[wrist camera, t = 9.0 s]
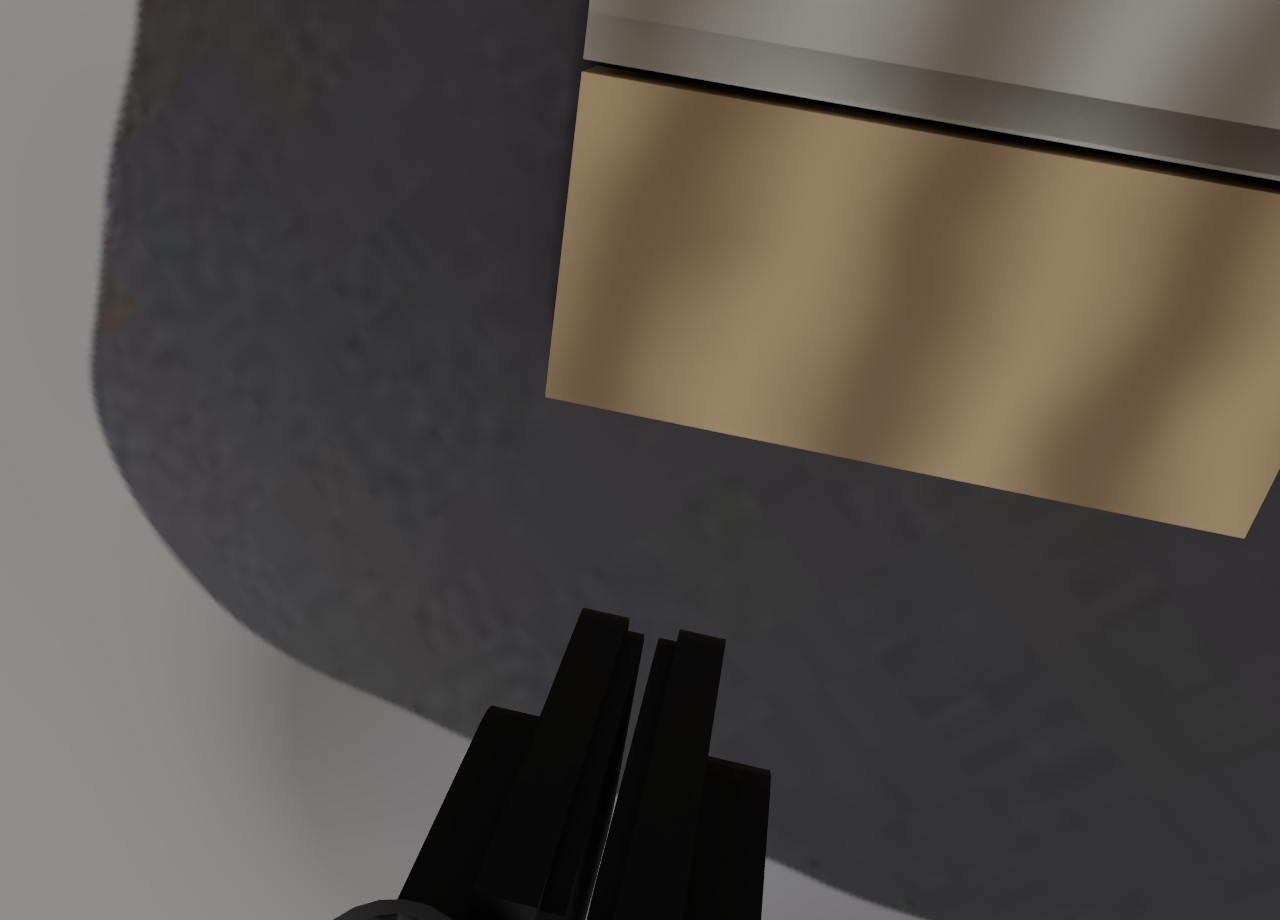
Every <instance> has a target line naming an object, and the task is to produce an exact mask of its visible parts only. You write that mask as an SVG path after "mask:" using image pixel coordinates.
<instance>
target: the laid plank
mask: <svg viewBox="0 0 1280 920" xmlns="http://www.w3.org/2000/svg"><path fill="white" fill-rule="evenodd" d="M583 59H586V60H592V61H598V62H604V63H609V64H615V65H621V66H626V67H632V68H638V69H643V70H649V71H655V72H661V73H666V74H672V75H678V76H683V77H689V78H695V79H701V80H706V81H712V82H718V83H723V84H729V85H735V86H740V87H746V88H752V89H758V90H763V91H769V92H775V93H780V94H786V95H792V96H798V97H803V98H809V99H815V100H820V101H826V102H832V103H837V104H843V105H849V106H855V107H860V108H866V109H872V110H877V111H883V112H889V113H895V114H900V115H906V116H912V117H917V118H923V119H929V120H935V121H940V122H946V123H952V124H957V125H963V126H969V127H974V128H980V129H986V130H992V131H997V132H1003V133H1009V134H1014V135H1020V136H1026V137H1032V138H1037V139H1043V140H1049V141H1054V142H1060V143H1066V144H1071V145H1077V146H1083V147H1089V148H1094V149H1100V150H1106V151H1111V152H1117V153H1123V154H1129V155H1134V156H1140V157H1146V158H1151V159H1157V160H1163V161H1168V162H1174V163H1180V164H1186V165H1191V166H1197V167H1203V168H1208V169H1214V170H1220V171H1226V172H1231V173H1237V174H1243V175H1248V176H1254V177H1260V178H1265V179H1271V180H1277V181H1280V0H590V3H589V12H588V21H587V30H586V38H585V47H584V56H583Z"/></svg>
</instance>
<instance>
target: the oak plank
mask: <svg viewBox="0 0 1280 920" xmlns="http://www.w3.org/2000/svg"><path fill="white" fill-rule="evenodd" d="M545 397H548V398H553V399H558V400H563V401H567V402H572V403H577V404H582V405H587V406H592V407H597V408H602V409H607V410H612V411H617V412H622V413H627V414H632V415H637V416H641V417H646V418H651V419H656V420H661V421H666V422H671V423H676V424H681V425H686V426H691V427H696V428H701V429H706V430H711V431H715V432H720V433H725V434H730V435H735V436H740V437H745V438H750V439H755V440H760V441H765V442H770V443H775V444H780V445H785V446H790V447H794V448H799V449H804V450H809V451H814V452H819V453H824V454H829V455H834V456H839V457H844V458H849V459H854V460H859V461H864V462H868V463H873V464H878V465H883V466H888V467H893V468H898V469H903V470H908V471H913V472H918V473H923V474H928V475H933V476H938V477H942V478H947V479H952V480H957V481H962V482H967V483H972V484H977V485H982V486H987V487H992V488H997V489H1002V490H1007V491H1012V492H1017V493H1021V494H1026V495H1031V496H1036V497H1041V498H1046V499H1051V500H1056V501H1061V502H1066V503H1071V504H1076V505H1081V506H1086V507H1091V508H1095V509H1100V510H1105V511H1110V512H1115V513H1120V514H1125V515H1130V516H1135V517H1140V518H1145V519H1150V520H1155V521H1160V522H1165V523H1169V524H1174V525H1179V526H1184V527H1189V528H1194V529H1199V530H1204V531H1209V532H1214V533H1219V534H1224V535H1229V536H1234V537H1239V538H1243V539H1244V538H1245V536H1246V534H1247V532H1248V530H1249V528H1250V526H1251V524H1252V522H1253V521H1254V519H1255V517H1256V515H1257V513H1258V511H1259V509H1260V507H1261V505H1262V503H1263V501H1264V499H1265V497H1266V495H1267V493H1268V491H1269V489H1270V487H1271V485H1272V483H1273V481H1274V479H1275V477H1276V475H1277V473H1278V471H1279V469H1280V185H1275V184H1269V183H1264V182H1258V181H1252V180H1246V179H1241V178H1235V177H1229V176H1224V175H1218V174H1212V173H1207V172H1201V171H1195V170H1189V169H1184V168H1178V167H1172V166H1167V165H1161V164H1155V163H1150V162H1144V161H1138V160H1133V159H1127V158H1121V157H1115V156H1110V155H1104V154H1098V153H1093V152H1087V151H1081V150H1076V149H1070V148H1064V147H1058V146H1053V145H1047V144H1041V143H1036V142H1030V141H1024V140H1019V139H1013V138H1007V137H1002V136H996V135H990V134H984V133H979V132H973V131H967V130H962V129H956V128H950V127H945V126H939V125H933V124H927V123H922V122H916V121H910V120H905V119H899V118H893V117H888V116H882V115H876V114H871V113H865V112H859V111H853V110H848V109H842V108H836V107H831V106H825V105H819V104H814V103H808V102H802V101H796V100H791V99H785V98H779V97H774V96H768V95H762V94H757V93H751V92H745V91H739V90H734V89H728V88H722V87H717V86H711V85H705V84H700V83H694V82H688V81H683V80H677V79H671V78H665V77H660V76H654V75H648V74H643V73H637V72H631V71H626V70H620V69H614V68H608V67H603V66H595V67H592V68H590V69H587V70H585V71H582V74H581V83H580V91H579V100H578V109H577V118H576V127H575V136H574V145H573V154H572V163H571V171H570V180H569V189H568V198H567V207H566V216H565V225H564V234H563V242H562V251H561V260H560V269H559V278H558V287H557V296H556V305H555V313H554V322H553V331H552V340H551V349H550V358H549V367H548V376H547V385H546V393H545Z"/></svg>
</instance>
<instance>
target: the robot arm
mask: <svg viewBox="0 0 1280 920" xmlns="http://www.w3.org/2000/svg"><path fill="white" fill-rule="evenodd" d="M628 627H629V618H627V617H622V616H618V615H614V614H609V613H605V612H600V611H596V610H591V609H587V608H583V609H582V611H581V614H580V616H579V618H578V621H577V624H576V626H575V629H574V631H573V634H572V636H571V639H570V641H569V644H568V646H567V649H566V652H565V654H564V657H563V659H562V662H561V664H560V667H559V669H558V672H557V674H556V677H555V680H554V682H553V685H552V687H551V690H550V692H549V695H548V697H547V700H546V703H545V705H544V708H543V710H542V713H541V715H540V717H539V716H535V715H530V714H526V713H522V712H518V711H513V710H509V709H505V708H500V707H496V706H491V707H490V708H489V709H488V710H487V711H486V713H485V715H484V717H483V719H482V721H481V723H480V725H479V727H478V729H477V731H476V733H475V735H474V738H473V740H472V742H471V744H470V746H469V749H468V750H467V753H466V755H465V757H464V759H463V761H462V763H461V765H460V767H459V769H458V772H457V774H456V776H455V778H454V780H453V783H452V784H451V786H450V789H449V791H448V793H447V795H446V797H445V799H444V802H443V804H442V806H441V808H440V810H439V812H438V814H437V816H436V819H435V821H434V823H433V825H432V827H431V829H430V831H429V833H428V836H427V838H426V840H425V842H424V844H423V846H422V848H421V851H420V852H419V855H418V857H417V859H416V861H415V863H414V865H413V867H412V870H411V872H410V874H409V876H408V878H407V880H406V882H405V884H404V887H403V889H402V891H401V893H400V895H399V897H398V899H397V900H378V901H374V902H371V903H368V904H364V905H361V906H357V907H354V908H352V909H351V910H349V911H347V912H346V913H344V914H342V915H341V916H339V917H337V918H335V919H334V920H585V919H586V915H587V911H588V907H589V903H590V899H591V896H592V899H591V904H590V908H589V913H588V917H587V920H761V911H762V897H763V884H764V883H763V882H764V870H765V869H764V868H765V856H766V842H767V828H768V814H769V800H770V783H771V775H770V770H766V769H761V768H757V767H753V766H748V765H744V764H740V763H736V762H731V761H727V760H723V759H719V758H714V757H710V756H708V752H709V746H710V739H711V733H712V727H713V720H714V714H715V707H716V701H717V694H718V688H719V681H720V675H721V668H722V662H723V656H724V649H725V642H726V639H721V638H717V637H712V636H708V635H703V634H699V633H694V632H690V631H685V630H681V629H680V631H679V635H678V639H677V642H676V641H672V640H667V639H663V638H659V639H658V643H657V647H656V651H655V654H654V658H653V662H652V666H651V670H650V674H649V678H648V682H647V685H646V689H645V693H644V697H643V701H642V705H641V709H640V713H639V716H638V720H637V724H636V728H635V732H634V736H633V740H632V744H631V747H630V751H629V755H628V759H627V763H626V767H625V771H624V775H623V778H622V782H621V786H620V790H619V794H618V798H617V802H616V806H615V810H614V813H613V817H612V811H613V807H614V802H615V796H616V791H617V785H618V780H619V774H620V769H621V763H622V758H623V752H624V747H625V741H626V736H627V730H628V725H629V719H630V714H631V708H632V703H633V697H634V692H635V686H636V681H637V675H638V670H639V664H640V659H641V653H642V648H643V642H644V634H640V633H636V632H632V631H628ZM611 817H612V821H611ZM610 821H611V825H610ZM609 825H610V829H609ZM608 830H609V833H608ZM607 833H608V837H607ZM606 838H607V840H606ZM605 842H606V845H605ZM604 845H605V848H604ZM603 849H604V852H603ZM602 853H603V856H602ZM601 857H602V860H601ZM600 861H601V864H600ZM599 865H600V868H599ZM598 869H599V871H598ZM597 872H598V875H597ZM596 876H597V879H596ZM595 880H596V883H595ZM594 884H595V887H594ZM593 888H594V891H593ZM592 892H593V895H592Z"/></svg>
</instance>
